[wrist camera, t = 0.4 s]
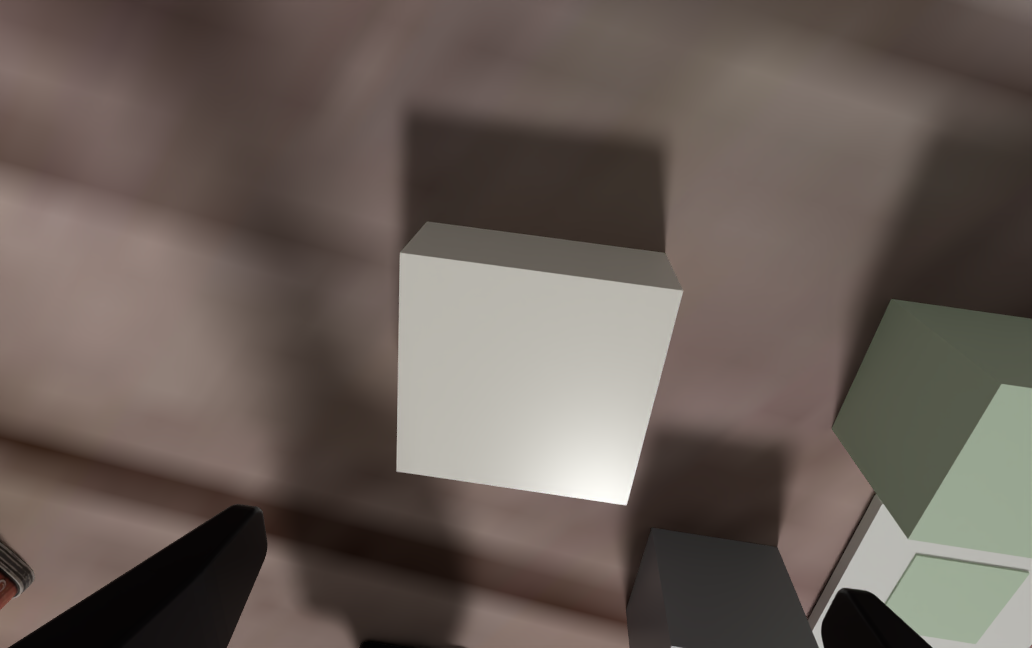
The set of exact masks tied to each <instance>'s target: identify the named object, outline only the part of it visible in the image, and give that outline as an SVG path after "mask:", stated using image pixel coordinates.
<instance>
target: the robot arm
mask: <svg viewBox="0 0 1032 648" xmlns="http://www.w3.org/2000/svg"><path fill="white" fill-rule="evenodd" d="M266 552H267V537H266V531H265V524H264V517H263V512H262V510H261V509H260V508H259V507H256V506H249V505H241V504H235V505H232V506H230V507H228V508H227V509H225V510H223V511H222V512H220V513H219V514H217V515H216V516H214V517H212V518H211V519H209V520H208V521H206V522H205V523H203V524H201V525H200V526H198V527H197V528H195V529H194V530H192V531H191V532H189V533H187V534H186V535H184V536H183V537H181V538H180V539H178V540H176V541H175V542H173V543H172V544H170V545H169V546H167V547H165V548H164V549H162V550H161V551H159V552H158V553H156V554H154V555H153V556H151V557H150V558H148V559H147V560H145V561H143V562H142V563H140V564H139V565H137V566H136V567H134V568H132V569H131V570H129V571H128V572H126V573H125V574H123V575H121V576H120V577H118V578H117V579H115V580H114V581H112V582H110V583H109V584H107V585H106V586H104V587H103V588H101V589H100V590H98V591H96V592H95V593H93V594H92V595H90V596H89V597H87V598H85V599H84V600H82V601H81V602H79V603H78V604H76V605H74V606H73V607H71V608H70V609H68V610H67V611H65V612H63V613H62V614H60V615H59V616H57V617H56V618H54V619H52V620H51V621H49V622H48V623H46V624H45V625H43V626H41V627H40V628H38V629H37V630H35V631H34V632H32V633H30V634H29V635H27V636H26V637H24V638H23V639H21V640H19V641H18V642H16V643H15V644H13V645H12V646H10V647H9V648H227V646H228V644H229V642H230V639H231V637H232V635H233V632H234V630H235V627H236V625H237V623H238V620H239V618H240V616H241V613H242V611H243V609H244V606H245V604H246V602H247V599H248V597H249V595H250V592H251V590H252V588H253V585H254V583H255V581H256V578H257V576H258V574H259V571H260V569H261V566H262V564H263V562H264V559H265V556H266ZM821 637H822V642H823V646H824V648H933V647H932V646H931V645H929V644H928V643H927V642H926V641H925V640H924V639H923V638H922V637H921V636H920V635H919V634H917V633H916V632H915V631H914V630H913V629H912V628H911V627H910V626H909V625H908V624H906V623H905V622H904V621H903V620H902V619H901V618H900V617H899V616H898V615H897V614H896V613H894V612H893V611H892V610H891V609H890V608H889V607H888V606H887V605H886V604H885V603H883V602H882V601H881V600H880V599H879V598H878V597H877V596H876V595H874V594H873V593H871V592H869V591H866V590H859V589H852V588H842V589H840V590H839V591H838V592H837V593H836V595H835V597H834V599H833V601H832V603H831V605H830V607H829V609H828V611H827V613H826V615H825V617H824V619H823V621H822V625H821ZM359 648H403V647H397V646H391V645H385V644H379V643H373V642H362V643H361V645H360V647H359Z"/></svg>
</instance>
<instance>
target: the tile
mask: <svg viewBox="0 0 1032 648" xmlns="http://www.w3.org/2000/svg"><path fill="white" fill-rule="evenodd" d="M842 588H852V589H859V590H866V591H869V592H871V593H873V594H874V595H876V596H877V597H878V598H879V599H880V600H881V601H882V602H883V603H885V604H886V605H887V606H888V607H889V608H890V609H891V610H892V611H893V612H894V613H896V614H897V615H898V616H899V617H900V618H901V619H902V620H903V621H904V622H905V623H906V624H908V625H909V626H910V627H911V628H912V629H913V630H914V631H915V632H916V633H917V634H919V635H920V636H921V637H922V638H923V639H924V640H925V641H926V642H927V643H928V644H929V645H931V646H932V647H933V648H1029V647H1030V646H1031V644H1032V558H1026V557H1019V556H1013V555H1006V554H1000V553H993V552H987V551H980V550H974V549H967V548H961V547H954V546H948V545H941V544H935V543H929V542H922V541H916V540H909V539H907V537H906V536H905V534H904V533H903V531H902V530H901V529H900V527H899V526H898V524H897V523H896V521H895V520H894V518H893V517H892V516H891V514H890V513H889V511H888V510H887V508H886V507H885V505H884V504H883V502H882V501H881V500H880V498H879V497H878V495H877V494H875V496H874V498H873V500H872V501H871V503H870V505H869V507H868V509H867V511H866V513H865V515H864V516H863V518H862V520H861V522H860V524H859V526H858V528H857V529H856V531H855V533H854V535H853V537H852V539H851V541H850V542H849V544H848V546H847V548H846V550H845V552H844V554H843V555H842V557H841V559H840V561H839V563H838V565H837V567H836V568H835V570H834V572H833V574H832V576H831V578H830V580H829V581H828V583H827V585H826V587H825V589H824V591H823V593H822V595H821V596H820V598H819V600H818V602H817V604H816V606H815V608H814V609H813V611H812V613H811V615H810V617H809V619H808V622H809V625H810V627H811V630H812V632H813V634H814V637H815V639H816V642H817V644H818V647H819V648H824V646H823V642H822V637H821V625H822V621H823V619H824V617H825V615H826V613H827V611H828V609H829V607H830V605H831V603H832V601H833V599H834V597H835V595H836V593H837V592H838V591H839V590H840V589H842Z"/></svg>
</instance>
